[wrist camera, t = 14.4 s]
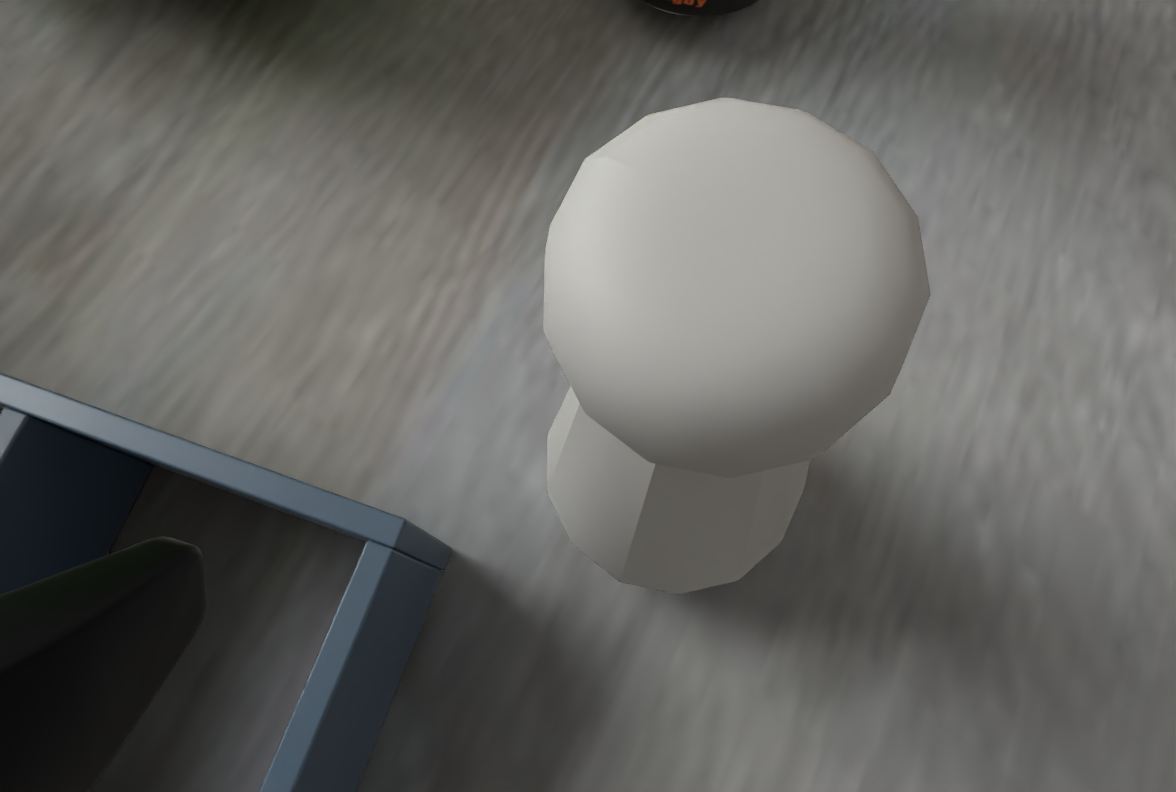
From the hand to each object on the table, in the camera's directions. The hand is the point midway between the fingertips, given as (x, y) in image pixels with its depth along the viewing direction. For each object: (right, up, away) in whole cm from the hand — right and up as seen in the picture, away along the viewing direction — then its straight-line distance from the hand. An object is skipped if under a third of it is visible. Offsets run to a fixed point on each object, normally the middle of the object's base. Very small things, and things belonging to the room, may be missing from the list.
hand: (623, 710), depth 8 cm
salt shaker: (+2, +1, +13) cm, 13 cm away
